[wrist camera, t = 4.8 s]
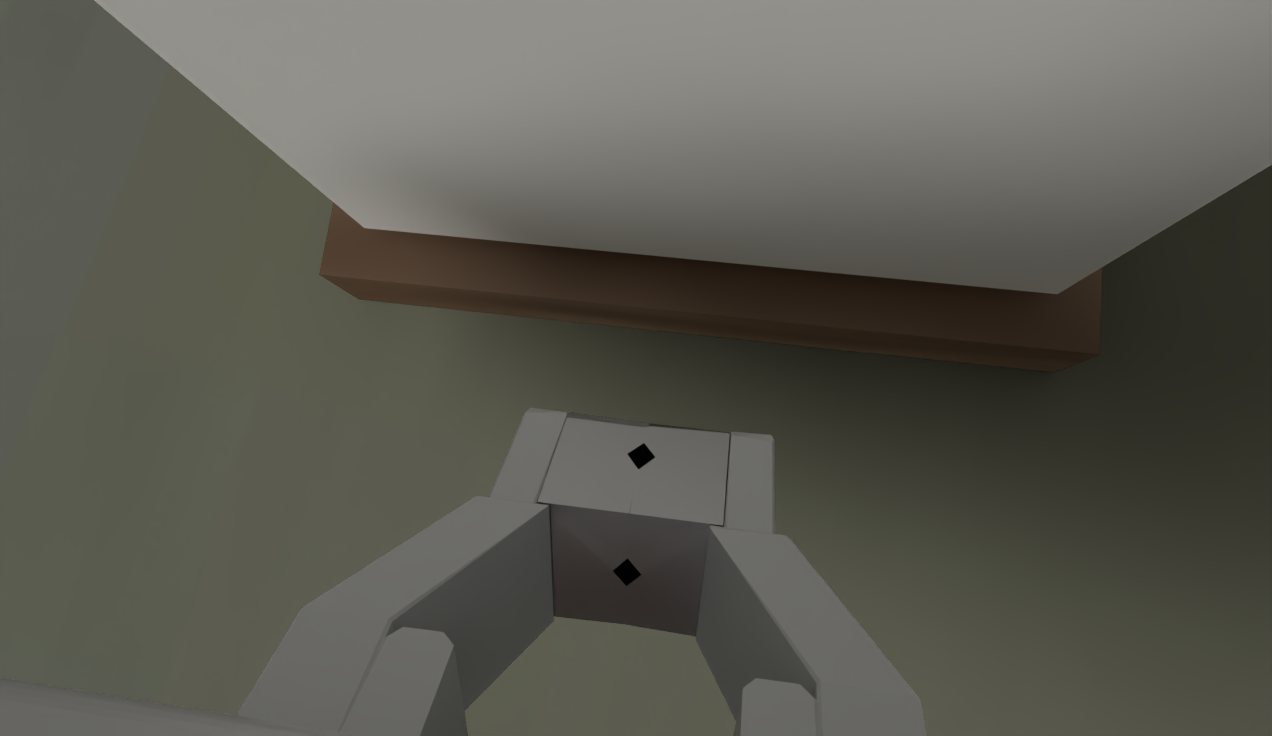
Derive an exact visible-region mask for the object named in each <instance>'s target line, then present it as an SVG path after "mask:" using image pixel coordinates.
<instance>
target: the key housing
mask: <svg viewBox="0 0 1272 736" xmlns="http://www.w3.org/2000/svg"><path fill="white" fill-rule="evenodd" d="M319 275H321V276H322V277H324V278H325V279H327V280H329V281H330V282H332V283H334V284H335V285H337V286H338V287H340V288H342V289H343V290H345V291H346V292H348V293H350V294H351V295H353V296H354V297H356V298H358V299H361V300H371V301H380V302H390V303H399V304H409V305H418V306H428V307H437V308H447V309H456V310H466V311H475V312H485V313H494V314H504V315H513V316H523V317H532V318H542V319H551V320H561V321H570V322H580V323H590V324H599V325H609V326H618V327H628V328H637V329H647V330H656V331H666V332H675V333H685V334H694V335H704V336H713V337H723V338H732V339H742V340H751V341H761V342H770V343H780V344H789V345H799V346H808V347H818V348H827V349H837V350H847V351H856V352H866V353H875V354H885V355H894V356H904V357H913V358H923V359H932V360H942V361H951V362H961V363H970V364H980V365H989V366H999V367H1008V368H1018V369H1027V370H1037V371H1046V372H1056V371H1059V370H1061V369H1064V368H1067V367H1069V366H1072V365H1074V364H1077V363H1079V362H1082V361H1084V360H1087V359H1090V358H1092V357H1095V356H1097V355H1100V335H1101V296H1102V268H1100V269H1098V270H1097V271H1095V272H1093V273H1092V274H1090V275H1088V276H1087V277H1085V278H1083V279H1082V280H1080V281H1078V282H1077V283H1075V284H1073V285H1072V286H1070V287H1069V288H1067V289H1065V290H1064V291H1062V292H1060V293H1059V294H1050V293H1039V292H1029V291H1018V290H1008V289H997V288H987V287H976V286H966V285H955V284H945V283H934V282H924V281H913V280H903V279H892V278H882V277H871V276H861V275H850V274H840V273H830V272H819V271H809V270H798V269H788V268H777V267H767V266H756V265H746V264H735V263H725V262H714V261H704V260H693V259H683V258H672V257H662V256H651V255H641V254H630V253H620V252H609V251H599V250H589V249H578V248H568V247H557V246H547V245H536V244H526V243H515V242H505V241H494V240H484V239H473V238H463V237H452V236H442V235H431V234H421V233H410V232H400V231H389V230H379V229H368V228H364V227H362V226H361V225H360V224H359V223H358V222H356V221H355V220H354V219H353V218H352V217H351V216H349V215H348V214H347V213H346V212H345V211H343V210H342V209H341V208H340V207H339V206H337V205H336V204H335V203H333V208H332V213H331V218H330V223H329V228H328V233H327V238H326V243H325V248H324V253H323V258H322V263H321V268H320V273H319Z"/></svg>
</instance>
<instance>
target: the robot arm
mask: <svg viewBox="0 0 1272 736" xmlns="http://www.w3.org/2000/svg"><path fill="white" fill-rule="evenodd" d="M554 616H555V617H564V618H573V619H581V620H590V621H599V622H608V623H617V624H625V625H631V626H637V627H643V628H649V629H655V630H660V631H666V632H672V633H678V634H684V635H690V636H696V641H697V643H698V645H699V647H700V649H701V651H702V653H703V655H704V658H705V660H706V662H707V664H708V666H709V668H710V670H711V672H712V674H713V676H714V678H715V680H716V682H717V684H718V686H719V688H720V690H721V692H722V694H723V696H724V698H725V700H726V702H727V704H728V706H729V708H730V710H731V712H732V714H733V716H734V718H735V720H736V726H735V731H734V736H926V730H925V724H924V718H923V712H922V706H921V701H920V698H919V697H918V696H917V695H916V693H915V692H914V691H913V690H912V688H911V687H910V686H909V685H908V683H907V682H906V681H905V680H904V679H903V677H902V676H901V675H900V674H899V672H898V671H897V670H896V669H895V667H894V666H893V665H892V664H891V662H890V661H889V660H888V659H887V657H886V656H885V655H884V654H883V653H882V651H881V650H880V649H879V648H878V646H877V645H876V644H875V643H874V641H873V640H872V639H871V638H870V636H869V635H868V634H867V633H866V632H865V630H864V629H863V628H862V627H861V625H860V624H859V623H858V622H857V620H856V619H855V618H854V617H853V615H852V614H851V613H850V612H849V611H848V609H847V608H846V607H845V606H844V604H843V603H842V602H841V601H840V599H839V598H838V597H837V596H836V594H835V593H834V592H833V591H832V590H831V588H830V587H829V586H828V585H827V583H826V582H825V581H824V580H823V578H822V577H821V576H820V575H819V573H818V572H817V571H816V570H815V568H814V567H813V566H812V565H811V564H810V562H809V561H808V560H807V559H806V557H805V556H804V555H803V554H802V552H801V551H800V550H799V549H798V547H797V546H796V545H795V544H794V543H793V541H792V540H791V539H790V538H789V536H786V535H779V534H775V443H774V439H773V437H772V435H765V434H755V433H744V432H733V431H731V433H729V432H722V431H713V430H704V429H695V428H686V427H677V426H668V425H659V424H649V423H645V422H638V421H630V420H623V419H616V418H609V417H601V416H594V415H587V414H580V413H572V412H571V413H567V412H561V411H554V410H546V409H538V408H530V409H528V410H527V411H526V412H525V413H524V414H523V417H522V419H521V421H520V424H519V426H518V428H517V431H516V433H515V435H514V438H513V440H512V442H511V445H510V447H509V449H508V452H507V454H506V456H505V459H504V461H503V464H502V466H501V468H500V471H499V473H498V475H497V478H496V480H495V482H494V485H493V487H492V489H491V492H490V494H489V496H488V497H481V496H475V497H474V498H472V499H471V500H469V501H467V502H466V503H464V504H463V505H461V506H460V507H458V508H457V509H455V510H453V511H452V512H450V513H449V514H447V515H446V516H444V517H442V518H441V519H439V520H438V521H436V522H435V523H433V524H432V525H430V526H428V527H427V528H425V529H424V530H422V531H421V532H419V533H418V534H416V535H414V536H413V537H411V538H410V539H408V540H407V541H405V542H403V543H402V544H400V545H399V546H397V547H396V548H394V549H393V550H391V551H389V552H388V553H386V554H385V555H383V556H382V557H380V558H379V559H377V560H375V561H374V562H372V563H371V564H369V565H368V566H366V567H364V568H363V569H361V570H360V571H358V572H357V573H355V574H354V575H352V576H350V577H349V578H347V579H346V580H344V581H343V582H341V583H340V584H338V585H336V586H335V587H333V588H332V589H330V590H329V591H327V592H326V593H324V594H322V595H321V596H319V597H318V598H316V599H315V600H313V601H311V602H310V603H308V604H307V605H305V606H304V607H302V608H301V610H300V611H299V613H298V615H297V616H296V618H295V620H294V621H293V623H292V625H291V626H290V628H289V630H288V631H287V633H286V634H285V636H284V638H283V639H282V641H281V643H280V644H279V646H278V648H277V649H276V651H275V653H274V654H273V656H272V658H271V659H270V661H269V662H268V664H267V666H266V667H265V669H264V671H263V672H262V674H261V676H260V677H259V679H258V681H257V682H256V684H255V685H254V687H253V689H252V690H251V692H250V694H249V695H248V697H247V699H246V700H245V702H244V704H243V705H242V707H241V709H240V710H239V712H238V713H237V715H230V714H224V713H217V712H211V711H205V710H199V709H193V708H186V707H180V706H174V705H168V704H161V703H155V702H149V701H143V700H137V699H130V698H124V697H118V696H112V695H106V694H99V693H93V692H87V691H81V690H74V689H68V688H62V687H56V686H50V685H43V684H37V683H31V682H25V681H19V680H12V679H6V678H0V736H468V732H467V725H466V719H465V713H464V711H465V710H466V709H467V708H468V707H469V706H470V705H471V704H472V703H473V702H474V701H475V700H476V699H477V698H478V697H479V696H480V695H481V694H482V693H483V692H484V691H485V690H486V689H487V688H488V687H489V686H490V685H491V684H492V683H493V682H494V681H495V680H496V679H497V678H498V677H499V676H500V675H501V674H502V672H503V671H504V670H505V669H506V668H507V667H508V666H509V665H510V664H511V663H512V662H513V661H514V660H515V659H516V658H517V657H518V656H519V655H520V654H521V653H522V652H523V651H524V650H525V649H526V648H527V647H528V646H529V645H530V644H531V643H532V642H533V641H534V640H535V639H536V638H537V637H538V636H539V635H540V634H541V633H542V632H543V631H544V630H545V629H546V628H547V627H548V626H549V625H550V624H551V623H552V622H553V621H554Z"/></svg>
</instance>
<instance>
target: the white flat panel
mask: <svg viewBox="0 0 1272 736" xmlns="http://www.w3.org/2000/svg"><path fill="white" fill-rule="evenodd" d="M94 1H96V2H97V3H98V4H99V5H100V6H102V7H103V8H104V9H105V10H106V11H107V12H109V13H110V14H111V15H112V16H113V17H115V18H116V19H117V20H118V21H119V22H120V23H122V24H123V25H124V26H125V27H126V28H128V29H129V30H130V31H131V32H132V33H134V34H135V35H136V36H137V37H138V38H139V39H141V40H142V41H143V42H144V43H145V44H147V45H148V46H149V47H150V48H151V49H152V50H154V51H155V52H156V53H157V54H158V55H160V56H161V57H162V58H163V59H164V60H166V61H167V62H168V63H169V64H170V65H171V66H173V67H174V68H175V69H176V70H177V71H179V72H180V73H181V74H182V75H183V76H185V77H186V78H187V79H188V80H189V81H190V82H192V83H193V84H194V85H195V86H196V87H198V88H199V89H200V90H201V91H202V92H203V93H205V94H206V95H207V96H208V97H209V98H211V99H212V100H213V101H214V102H215V103H217V104H218V105H219V106H220V107H221V108H222V109H224V110H225V111H226V112H227V113H228V114H230V115H231V116H232V117H233V118H234V119H235V120H237V121H238V122H239V123H240V124H241V125H243V126H244V127H245V128H246V129H247V130H249V131H250V132H251V133H252V134H253V135H254V136H256V137H257V138H258V139H259V140H260V141H262V142H263V143H264V144H265V145H266V146H268V147H269V148H270V149H271V150H272V151H273V152H275V153H276V154H277V155H278V156H279V157H281V158H282V159H283V160H284V161H285V162H286V163H288V164H289V165H290V166H291V167H292V168H294V169H295V170H296V171H297V172H298V173H300V174H301V175H302V176H303V177H304V178H305V179H307V180H308V181H309V182H310V183H311V184H313V185H314V186H315V187H316V188H317V189H319V190H320V191H321V192H322V193H323V194H324V195H326V196H327V197H328V198H329V199H330V200H332V201H333V202H334V203H335V204H336V205H337V206H339V207H340V208H341V209H342V210H343V211H345V212H346V213H347V214H348V215H349V216H351V217H352V218H353V219H354V220H355V221H356V222H358V223H359V224H360V225H361V226H362V227H364V228H368V229H379V230H389V231H400V232H410V233H421V234H431V235H442V236H452V237H463V238H473V239H484V240H494V241H505V242H515V243H526V244H536V245H547V246H557V247H568V248H578V249H589V250H599V251H609V252H620V253H630V254H641V255H651V256H662V257H672V258H683V259H693V260H704V261H714V262H725V263H735V264H746V265H756V266H767V267H777V268H788V269H798V270H809V271H819V272H830V273H840V274H850V275H861V276H871V277H882V278H892V279H903V280H913V281H924V282H934V283H945V284H955V285H966V286H976V287H987V288H997V289H1008V290H1018V291H1029V292H1039V293H1050V294H1059V293H1060V292H1062V291H1064V290H1065V289H1067V288H1069V287H1070V286H1072V285H1073V284H1075V283H1077V282H1078V281H1080V280H1082V279H1083V278H1085V277H1087V276H1088V275H1090V274H1092V273H1093V272H1095V271H1097V270H1098V269H1100V268H1102V267H1103V266H1105V265H1107V264H1108V263H1110V262H1112V261H1113V260H1115V259H1117V258H1118V257H1120V256H1122V255H1123V254H1125V253H1126V252H1128V251H1130V250H1131V249H1133V248H1135V247H1136V246H1138V245H1140V244H1141V243H1143V242H1145V241H1146V240H1148V239H1150V238H1151V237H1153V236H1155V235H1156V234H1158V233H1160V232H1161V231H1163V230H1165V229H1166V228H1168V227H1170V226H1171V225H1173V224H1175V223H1176V222H1178V221H1179V220H1181V219H1183V218H1184V217H1186V216H1188V215H1189V214H1191V213H1193V212H1194V211H1196V210H1198V209H1199V208H1201V207H1203V206H1204V205H1206V204H1208V203H1209V202H1211V201H1213V200H1214V199H1216V198H1218V197H1219V196H1221V195H1223V194H1224V193H1226V192H1228V191H1229V190H1231V189H1232V188H1234V187H1236V186H1237V185H1239V184H1241V183H1242V182H1244V181H1246V180H1247V179H1249V178H1251V177H1252V176H1254V175H1256V174H1257V173H1259V172H1261V171H1262V170H1264V169H1266V168H1267V167H1269V166H1271V165H1272V0H94Z"/></svg>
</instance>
